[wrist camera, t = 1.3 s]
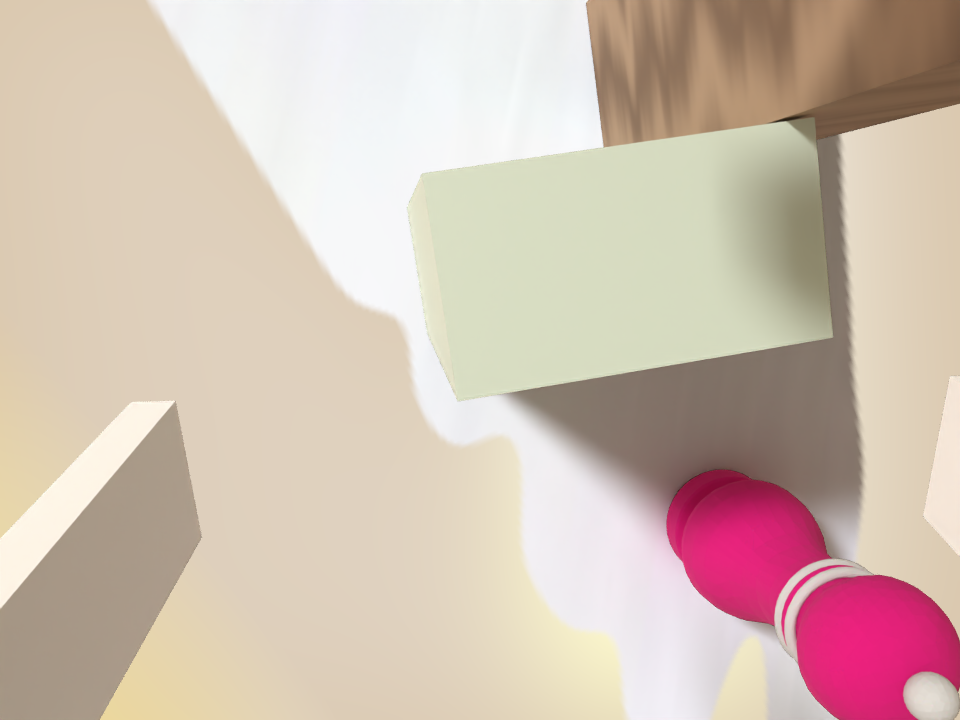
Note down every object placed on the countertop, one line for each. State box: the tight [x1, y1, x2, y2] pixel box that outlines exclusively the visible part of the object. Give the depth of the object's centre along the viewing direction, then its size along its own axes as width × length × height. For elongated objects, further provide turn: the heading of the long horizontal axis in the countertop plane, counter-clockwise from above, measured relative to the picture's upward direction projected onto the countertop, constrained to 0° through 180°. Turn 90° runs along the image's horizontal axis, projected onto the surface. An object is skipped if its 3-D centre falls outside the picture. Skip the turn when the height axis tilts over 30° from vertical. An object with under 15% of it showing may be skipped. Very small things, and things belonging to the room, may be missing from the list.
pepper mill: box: [667, 470, 960, 720], centre depth 38 cm, size 7×7×20 cm
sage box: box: [407, 117, 833, 401], centre depth 34 cm, size 7×12×20 cm, turn 99°
